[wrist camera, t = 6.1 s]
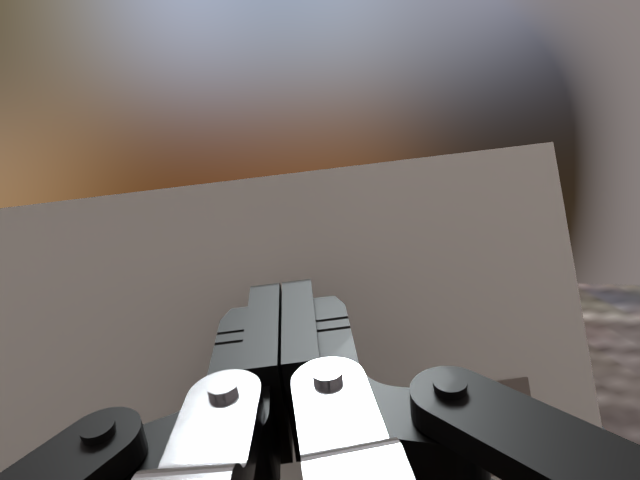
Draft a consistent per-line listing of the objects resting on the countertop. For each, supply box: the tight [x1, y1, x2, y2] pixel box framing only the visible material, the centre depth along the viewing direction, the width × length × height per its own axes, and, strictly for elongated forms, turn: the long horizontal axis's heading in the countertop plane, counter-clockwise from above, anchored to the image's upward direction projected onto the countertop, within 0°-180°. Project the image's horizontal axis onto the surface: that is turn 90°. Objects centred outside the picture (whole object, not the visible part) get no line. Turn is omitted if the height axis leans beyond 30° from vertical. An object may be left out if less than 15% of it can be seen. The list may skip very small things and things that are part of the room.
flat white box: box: [0, 142, 602, 480], centre depth 15 cm, size 16×2×10 cm, turn 94°
